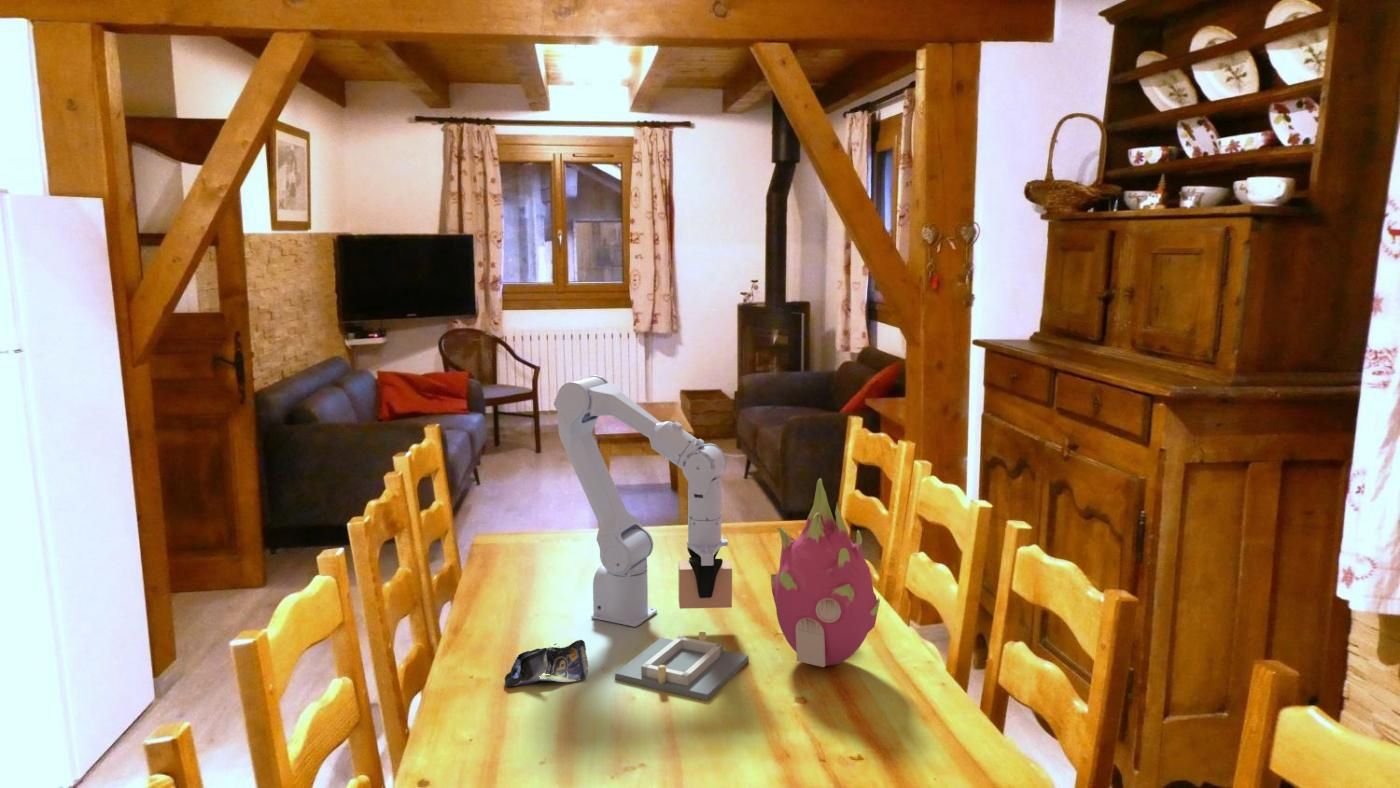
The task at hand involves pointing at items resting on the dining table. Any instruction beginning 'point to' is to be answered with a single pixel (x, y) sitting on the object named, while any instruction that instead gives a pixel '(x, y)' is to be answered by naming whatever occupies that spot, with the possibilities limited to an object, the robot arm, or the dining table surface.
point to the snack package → (549, 664)
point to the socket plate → (683, 667)
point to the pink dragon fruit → (824, 589)
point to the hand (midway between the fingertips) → (704, 591)
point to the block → (690, 591)
